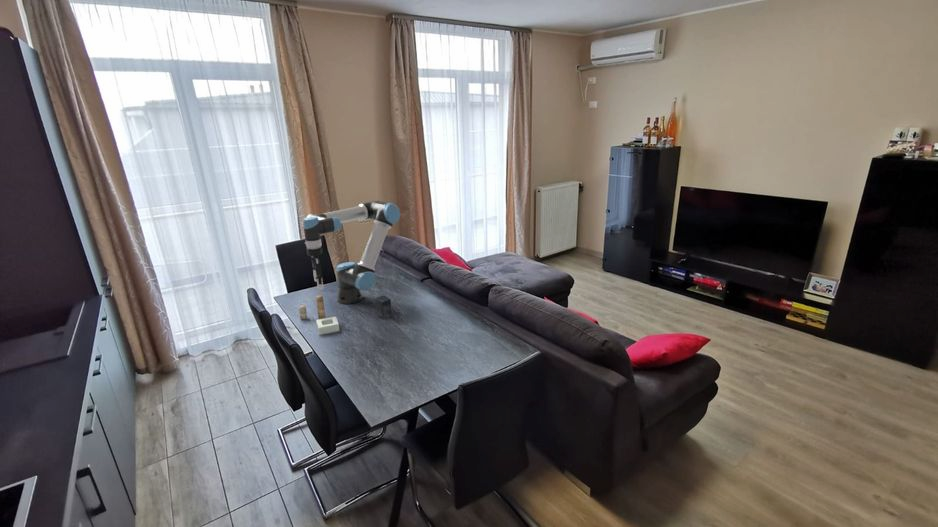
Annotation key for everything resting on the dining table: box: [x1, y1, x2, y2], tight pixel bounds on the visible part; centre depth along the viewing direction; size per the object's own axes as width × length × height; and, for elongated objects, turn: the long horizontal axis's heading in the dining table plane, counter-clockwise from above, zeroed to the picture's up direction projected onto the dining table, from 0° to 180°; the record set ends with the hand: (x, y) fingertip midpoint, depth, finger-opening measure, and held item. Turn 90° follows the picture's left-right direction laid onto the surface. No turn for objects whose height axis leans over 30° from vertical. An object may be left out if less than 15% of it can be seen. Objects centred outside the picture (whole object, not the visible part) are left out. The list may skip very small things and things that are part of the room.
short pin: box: [298, 305, 308, 320], centre depth 227 cm, size 4×4×7 cm
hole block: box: [315, 316, 340, 336], centre depth 215 cm, size 10×10×4 cm
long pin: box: [315, 295, 327, 320], centre depth 223 cm, size 4×4×14 cm
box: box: [374, 295, 393, 320], centre depth 229 cm, size 8×6×11 cm
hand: (318, 285), depth 219 cm, fingers open, 13 cm apart
